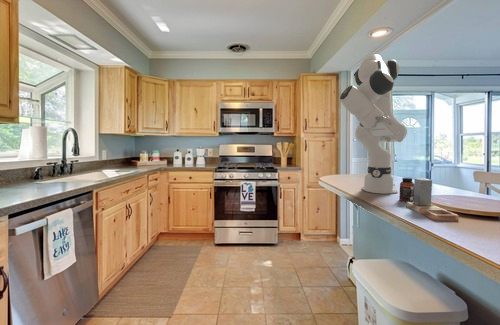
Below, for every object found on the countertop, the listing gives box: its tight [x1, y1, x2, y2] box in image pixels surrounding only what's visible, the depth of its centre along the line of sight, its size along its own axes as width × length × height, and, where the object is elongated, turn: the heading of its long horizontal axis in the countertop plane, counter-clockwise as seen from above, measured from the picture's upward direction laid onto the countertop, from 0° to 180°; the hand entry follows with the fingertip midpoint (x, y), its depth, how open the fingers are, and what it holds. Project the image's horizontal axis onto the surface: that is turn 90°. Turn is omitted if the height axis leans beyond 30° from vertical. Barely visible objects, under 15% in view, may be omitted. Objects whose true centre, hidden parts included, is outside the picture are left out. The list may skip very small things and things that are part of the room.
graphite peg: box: [413, 178, 433, 207], centre depth 107 cm, size 4×4×13 cm
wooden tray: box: [406, 201, 460, 222], centre depth 102 cm, size 19×8×2 cm, turn 176°
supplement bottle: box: [398, 177, 414, 203], centre depth 121 cm, size 6×6×11 cm
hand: (394, 140), depth 106 cm, fingers open, 8 cm apart
